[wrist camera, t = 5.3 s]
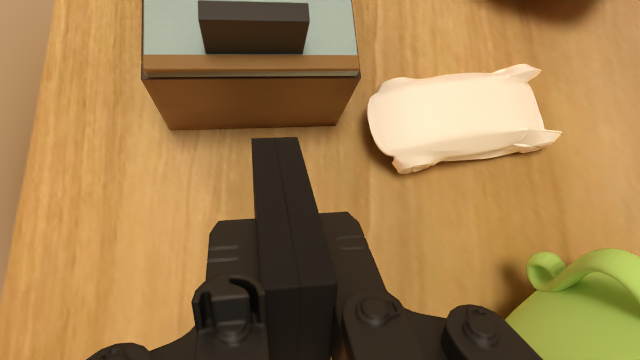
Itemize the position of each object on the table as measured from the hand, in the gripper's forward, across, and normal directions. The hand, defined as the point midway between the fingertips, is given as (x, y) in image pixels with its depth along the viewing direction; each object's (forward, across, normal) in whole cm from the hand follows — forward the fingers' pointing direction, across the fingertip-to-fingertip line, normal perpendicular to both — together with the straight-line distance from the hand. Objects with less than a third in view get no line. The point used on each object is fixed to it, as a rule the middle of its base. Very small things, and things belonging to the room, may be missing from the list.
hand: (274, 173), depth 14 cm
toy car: (+21, +18, -8) cm, 28 cm away
